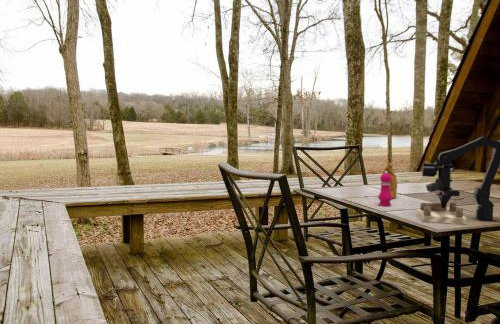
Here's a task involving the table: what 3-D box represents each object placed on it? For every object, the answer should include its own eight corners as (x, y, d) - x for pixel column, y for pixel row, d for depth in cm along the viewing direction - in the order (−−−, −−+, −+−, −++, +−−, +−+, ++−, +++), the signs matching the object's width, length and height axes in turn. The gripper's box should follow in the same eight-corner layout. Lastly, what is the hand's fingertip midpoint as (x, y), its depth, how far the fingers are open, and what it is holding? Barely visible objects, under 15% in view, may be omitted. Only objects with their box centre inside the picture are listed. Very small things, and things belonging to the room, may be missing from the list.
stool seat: (456, 216, 212) (457, 202, 211) (466, 224, 194) (466, 209, 193) (416, 214, 217) (417, 200, 216) (422, 222, 198) (422, 207, 198)
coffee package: (398, 196, 270) (400, 162, 268) (394, 199, 259) (395, 164, 257) (383, 195, 275) (384, 162, 273) (378, 198, 264) (379, 163, 262)
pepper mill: (388, 204, 244) (390, 170, 242) (393, 206, 237) (394, 171, 235) (376, 204, 244) (377, 170, 242) (380, 206, 236) (382, 171, 235)
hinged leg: (421, 209, 212) (421, 203, 212) (419, 208, 215) (419, 202, 215) (446, 210, 211) (446, 204, 210) (444, 209, 213) (444, 203, 213)
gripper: (419, 175, 218) (419, 205, 218) (438, 178, 199) (437, 211, 200) (440, 175, 218) (439, 205, 219) (460, 179, 200) (459, 211, 200)
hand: (443, 208), depth 210 cm, fingers closed
